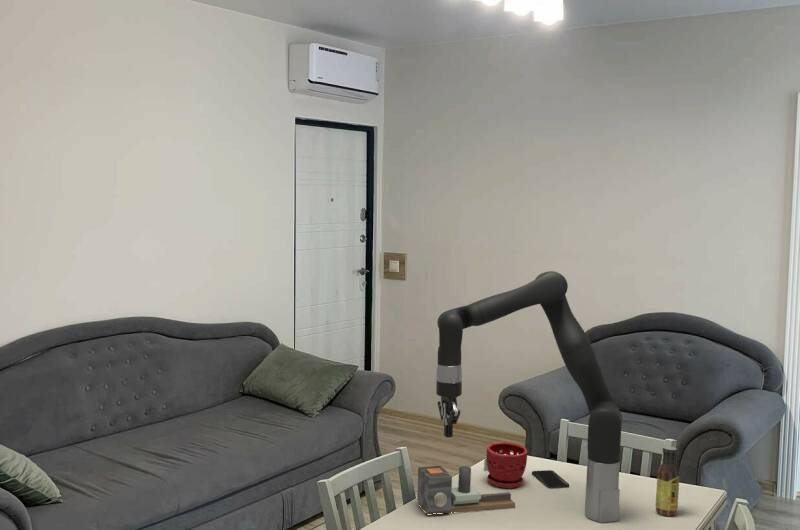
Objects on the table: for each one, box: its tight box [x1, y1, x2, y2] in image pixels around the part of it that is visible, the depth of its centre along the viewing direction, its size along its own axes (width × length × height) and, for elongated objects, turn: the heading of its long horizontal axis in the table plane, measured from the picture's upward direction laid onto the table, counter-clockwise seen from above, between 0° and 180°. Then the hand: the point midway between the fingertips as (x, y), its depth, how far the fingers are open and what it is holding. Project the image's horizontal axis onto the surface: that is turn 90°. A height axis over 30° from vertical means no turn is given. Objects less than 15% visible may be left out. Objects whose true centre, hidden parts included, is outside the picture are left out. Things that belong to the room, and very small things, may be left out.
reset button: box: [426, 468, 444, 475], centre depth 241 cm, size 4×4×3 cm
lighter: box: [483, 450, 505, 472], centre depth 279 cm, size 7×2×8 cm, turn 101°
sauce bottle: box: [655, 445, 680, 517], centre depth 244 cm, size 7×6×20 cm
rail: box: [417, 465, 516, 514], centre depth 244 cm, size 11×28×12 cm, turn 107°
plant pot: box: [485, 442, 528, 489], centre depth 266 cm, size 13×13×12 cm
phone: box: [531, 469, 570, 489], centre depth 271 cm, size 8×1×15 cm
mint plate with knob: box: [451, 465, 482, 505], centre depth 244 cm, size 7×8×10 cm
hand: (448, 436), depth 243 cm, fingers closed
